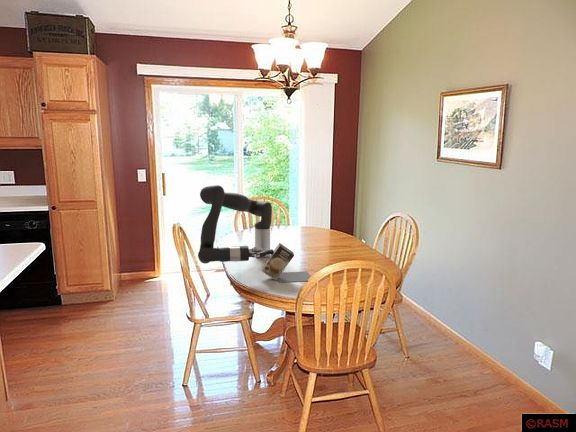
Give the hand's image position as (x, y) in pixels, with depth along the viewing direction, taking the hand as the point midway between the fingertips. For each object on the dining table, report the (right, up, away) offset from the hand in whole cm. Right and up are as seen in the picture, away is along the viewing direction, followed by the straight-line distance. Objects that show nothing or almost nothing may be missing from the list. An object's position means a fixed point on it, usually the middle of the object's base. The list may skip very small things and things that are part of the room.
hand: (273, 251), depth 209 cm
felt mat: (+10, -14, +5) cm, 18 cm away
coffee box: (-2, -12, +2) cm, 12 cm away
